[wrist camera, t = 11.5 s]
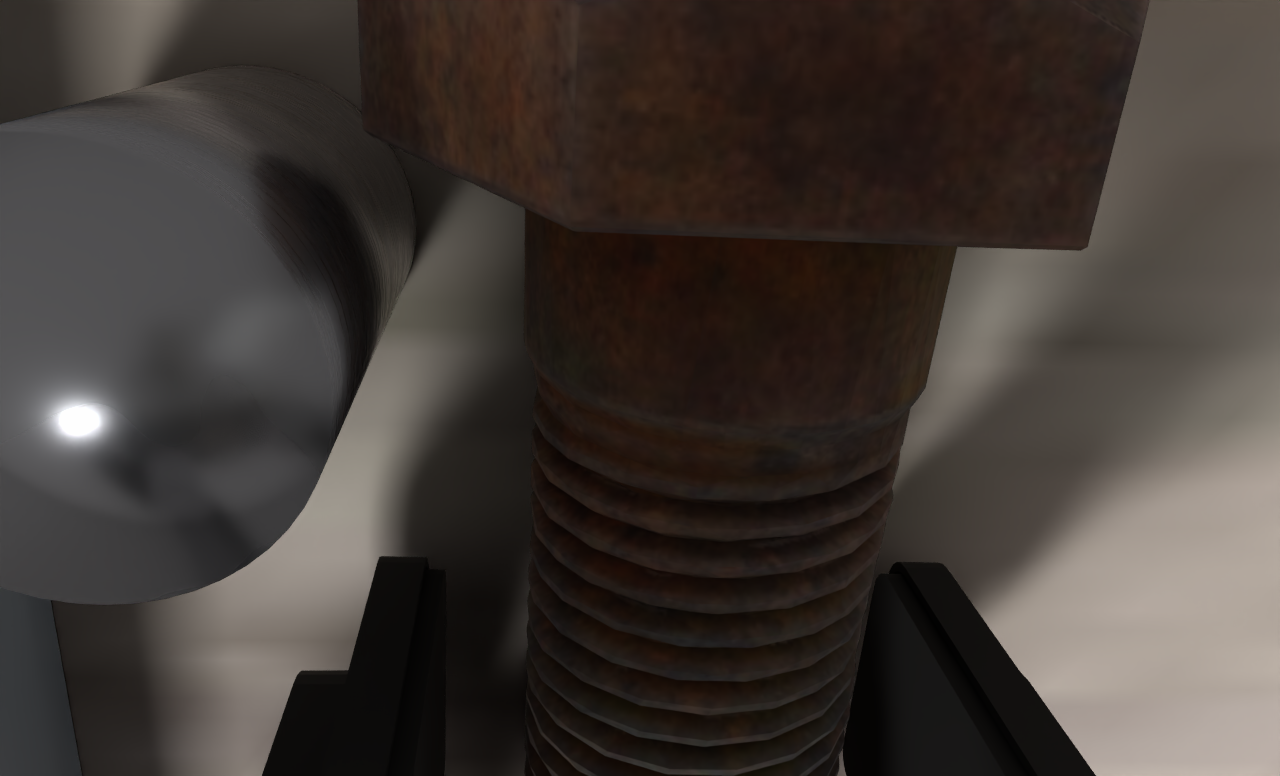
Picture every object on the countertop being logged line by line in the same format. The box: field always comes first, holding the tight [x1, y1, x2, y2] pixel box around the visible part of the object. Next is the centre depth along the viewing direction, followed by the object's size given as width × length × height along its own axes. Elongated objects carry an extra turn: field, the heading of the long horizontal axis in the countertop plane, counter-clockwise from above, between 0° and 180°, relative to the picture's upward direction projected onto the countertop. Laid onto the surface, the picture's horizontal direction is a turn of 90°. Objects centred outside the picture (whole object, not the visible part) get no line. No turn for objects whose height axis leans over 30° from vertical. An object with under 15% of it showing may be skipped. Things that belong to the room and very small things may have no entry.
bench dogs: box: [0, 66, 416, 605], centre depth 10 cm, size 3×13×4 cm, turn 175°
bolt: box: [357, 0, 1149, 776], centre depth 10 cm, size 6×5×15 cm
